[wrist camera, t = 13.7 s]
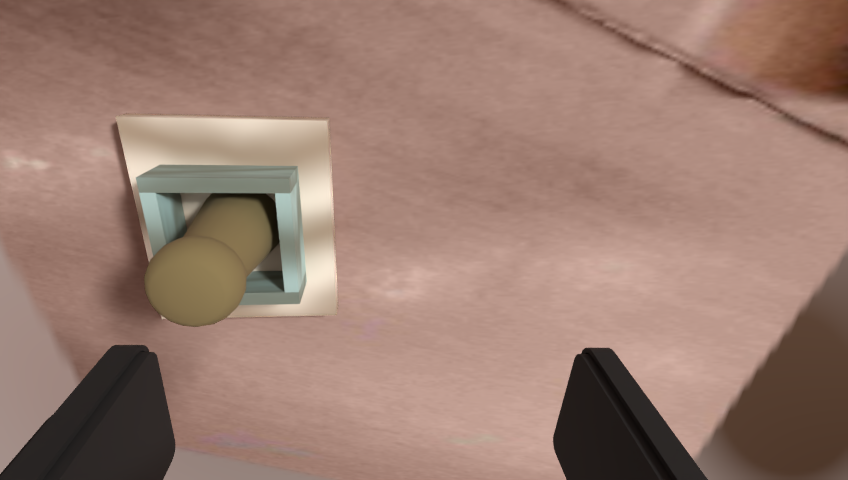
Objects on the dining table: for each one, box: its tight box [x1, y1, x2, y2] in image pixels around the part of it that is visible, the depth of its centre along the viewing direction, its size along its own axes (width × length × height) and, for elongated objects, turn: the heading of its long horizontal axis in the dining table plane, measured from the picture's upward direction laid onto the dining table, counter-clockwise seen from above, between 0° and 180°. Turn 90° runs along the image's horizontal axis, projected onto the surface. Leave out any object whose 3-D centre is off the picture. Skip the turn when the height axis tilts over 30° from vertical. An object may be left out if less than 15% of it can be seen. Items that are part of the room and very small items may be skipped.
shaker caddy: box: [116, 114, 338, 319], centre depth 33 cm, size 16×14×5 cm
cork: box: [144, 193, 280, 327], centre depth 29 cm, size 6×6×11 cm
